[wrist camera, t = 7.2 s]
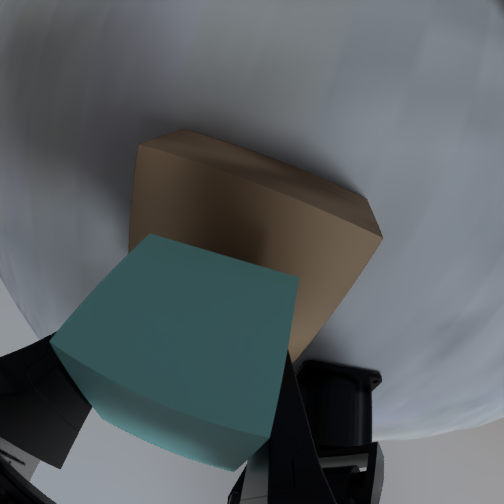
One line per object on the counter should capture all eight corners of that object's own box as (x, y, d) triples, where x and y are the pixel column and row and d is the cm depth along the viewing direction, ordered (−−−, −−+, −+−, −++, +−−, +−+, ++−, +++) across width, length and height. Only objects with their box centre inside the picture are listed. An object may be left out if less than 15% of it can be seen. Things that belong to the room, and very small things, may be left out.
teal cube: (299, 277, 8) (269, 437, 4) (263, 364, 11) (233, 472, 7) (150, 233, 9) (49, 341, 4) (156, 328, 11) (102, 418, 7)
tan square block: (365, 196, 12) (383, 238, 8) (292, 321, 17) (283, 373, 13) (186, 128, 12) (138, 143, 8) (161, 268, 17) (128, 309, 14)
